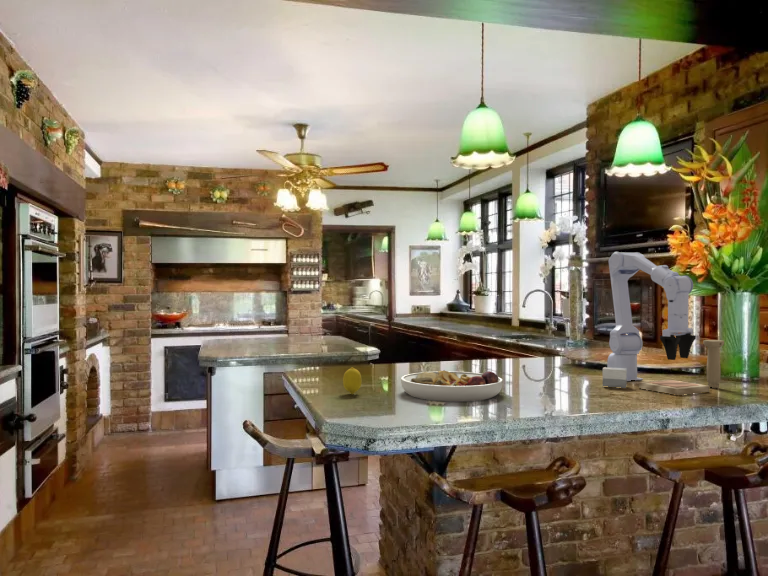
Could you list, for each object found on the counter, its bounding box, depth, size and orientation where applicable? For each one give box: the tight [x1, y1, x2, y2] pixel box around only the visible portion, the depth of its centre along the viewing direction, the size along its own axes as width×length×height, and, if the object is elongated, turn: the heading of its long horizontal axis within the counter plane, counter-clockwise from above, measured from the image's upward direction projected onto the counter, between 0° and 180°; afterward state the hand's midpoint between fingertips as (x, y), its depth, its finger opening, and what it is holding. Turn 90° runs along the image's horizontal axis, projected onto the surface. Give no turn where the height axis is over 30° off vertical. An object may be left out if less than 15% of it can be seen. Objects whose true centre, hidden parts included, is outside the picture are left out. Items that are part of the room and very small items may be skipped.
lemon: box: [342, 367, 363, 395], centre depth 181 cm, size 6×6×8 cm
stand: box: [638, 379, 710, 396], centre depth 188 cm, size 14×14×2 cm
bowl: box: [400, 369, 503, 403], centre depth 182 cm, size 30×30×8 cm
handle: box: [702, 339, 725, 389], centre depth 193 cm, size 5×6×15 cm
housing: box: [602, 366, 628, 389], centre depth 195 cm, size 4×7×6 cm, turn 66°
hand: (677, 358), depth 188 cm, fingers open, 7 cm apart
